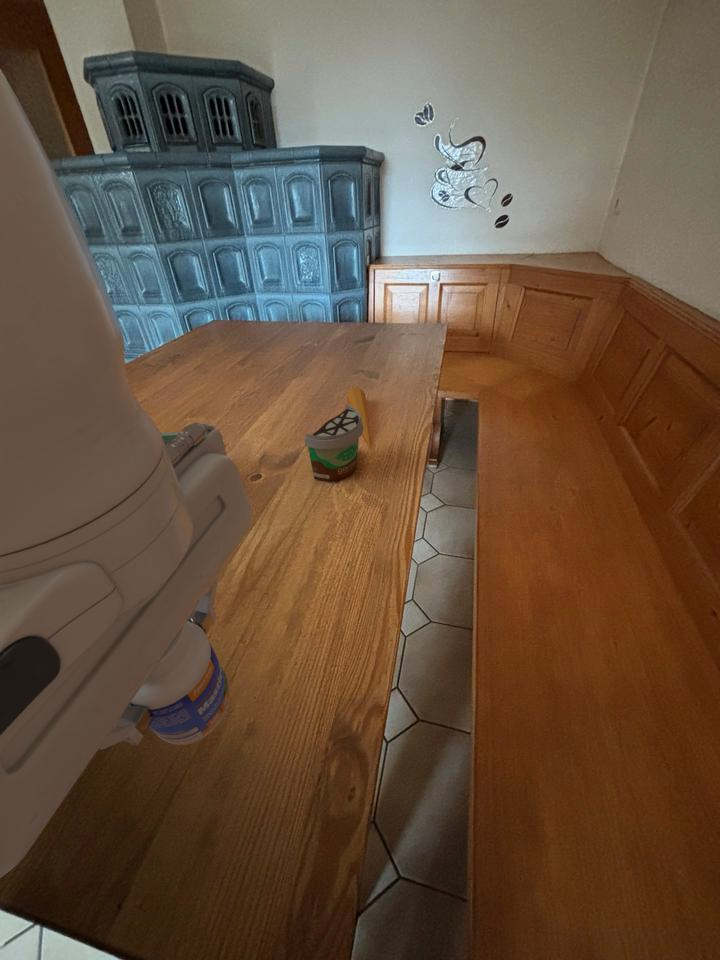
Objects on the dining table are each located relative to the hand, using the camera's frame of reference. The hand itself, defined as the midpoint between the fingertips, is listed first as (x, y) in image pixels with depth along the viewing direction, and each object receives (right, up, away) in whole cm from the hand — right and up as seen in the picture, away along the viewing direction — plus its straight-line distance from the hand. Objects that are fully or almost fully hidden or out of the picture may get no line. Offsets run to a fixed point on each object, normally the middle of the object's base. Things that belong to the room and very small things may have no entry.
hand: (171, 672), depth 25 cm
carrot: (+12, +24, +57) cm, 63 cm away
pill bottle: (0, -4, +3) cm, 5 cm away
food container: (+9, +14, +45) cm, 48 cm away
